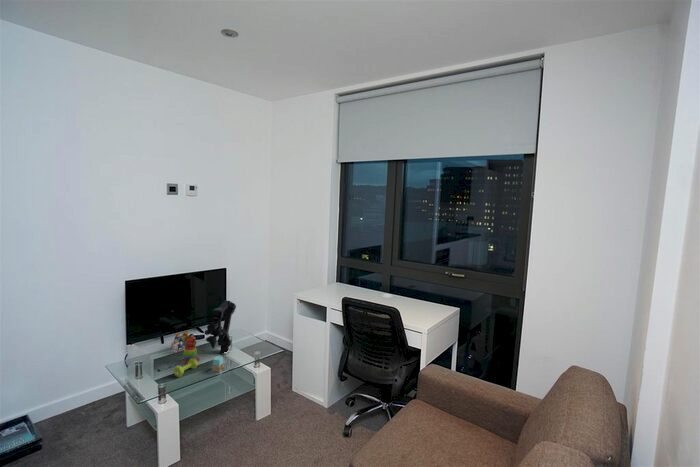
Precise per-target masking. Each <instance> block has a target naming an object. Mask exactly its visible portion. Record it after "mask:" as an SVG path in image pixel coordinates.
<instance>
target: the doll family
mask: <svg viewBox="0 0 700 467" xmlns="http://www.w3.org/2000/svg"><path fill="white" fill-rule="evenodd" d="M180 335H181V336H180ZM173 337H174V339H173V341H172V343H171V346H170V347H171V348H172V353H173V352H175V354H174V355H176V354H177V353H176V351H177V352H178V353H179V352H180V350H179V348H182V347H183V346H185V345H186V340H187V339H189V338H191V337H193V339H195V340H196V337H195V336H194V334H193V333H190V334H189V333H188V331H184V332H183V333H182V334H180V333H179V332H177V333H175V334H174V336H173Z"/></svg>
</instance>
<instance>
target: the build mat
mask: <svg viewBox="0 0 700 467" xmlns="http://www.w3.org/2000/svg"><path fill="white" fill-rule="evenodd" d="M207 373H209V374H214V375H222V374H223V373H218V372H212V368H211V369H210V370H209V371H207Z"/></svg>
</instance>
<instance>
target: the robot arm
mask: <svg viewBox="0 0 700 467" xmlns="http://www.w3.org/2000/svg"><path fill="white" fill-rule="evenodd" d="M236 308H237V306H236V303H234V302H232V301H231V300H226V299H225V300H224V301H223V302H222V303H221V304H220V305H219V307H217V308H214V309H213V310H212V311H211V313H210V316H209V321H210V322H209V324H207V326H206V328H207V329H206V330H204V335H206V336H208V337H206V339H205V342H207V343H209V344H210V347H211V348H212V349H213V350H214V349H215V348H216V347H215V346H216V344H217V345H218V346H220V351H219V352H218V354H220V353H224V352H227V351H228V350H229V347H231V345H232V340H231V339H230V337H231V336H230V334H229V331H230V326H231V320H232V315H233V314H234V313H235V312H236V311H235V310H236ZM224 313H225V316H224ZM223 316H224V322H223V326H222V319H223Z"/></svg>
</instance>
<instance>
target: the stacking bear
mask: <svg viewBox="0 0 700 467" xmlns="http://www.w3.org/2000/svg"><path fill="white" fill-rule="evenodd" d="M188 338H189V337H188ZM197 355H198V349H197V341H196V338H195V339H193V337H191V338H189V339H187V340H186V347H183V364H185V365H187V364H188V361H189V360H190V359H191V358H195V359H196V360H197V362H199V361H200V360H201V357H199V356H197Z"/></svg>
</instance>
